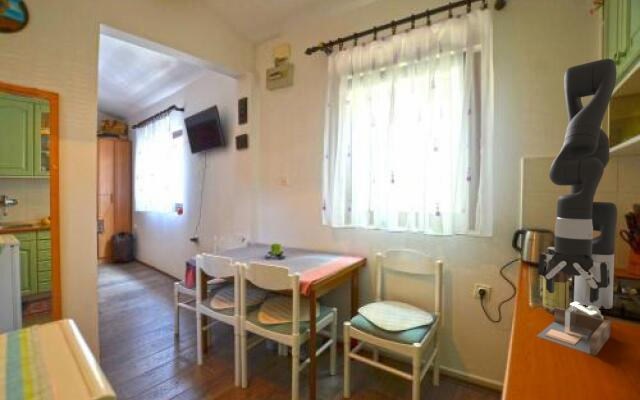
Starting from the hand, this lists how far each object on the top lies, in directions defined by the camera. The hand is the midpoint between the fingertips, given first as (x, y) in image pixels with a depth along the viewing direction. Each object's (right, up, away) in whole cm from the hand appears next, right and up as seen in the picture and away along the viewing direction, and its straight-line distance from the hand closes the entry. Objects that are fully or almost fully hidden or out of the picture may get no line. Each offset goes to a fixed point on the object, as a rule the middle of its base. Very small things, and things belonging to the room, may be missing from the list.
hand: (570, 297), depth 79 cm
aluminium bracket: (+1, -9, -1) cm, 9 cm away
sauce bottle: (+6, -9, +13) cm, 17 cm away
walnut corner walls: (-1, -10, -2) cm, 10 cm away
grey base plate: (-1, -10, -2) cm, 10 cm away
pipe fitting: (+13, -10, +9) cm, 18 cm away
